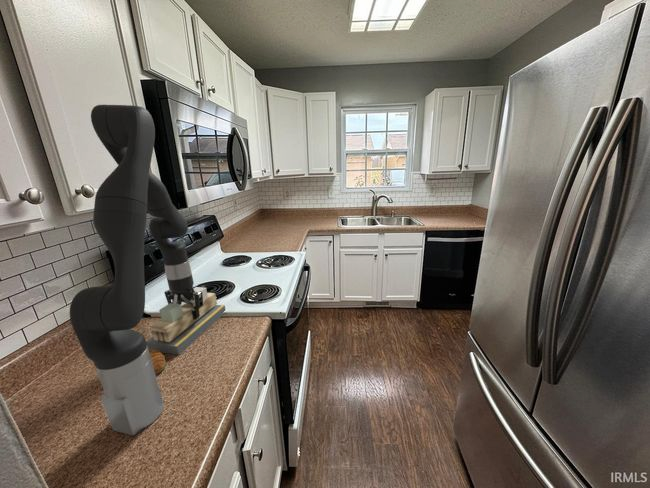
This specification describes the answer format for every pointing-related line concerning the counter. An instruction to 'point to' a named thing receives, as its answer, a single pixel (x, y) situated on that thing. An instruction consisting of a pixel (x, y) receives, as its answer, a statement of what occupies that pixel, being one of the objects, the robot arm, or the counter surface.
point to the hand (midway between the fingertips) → (188, 317)
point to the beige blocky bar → (181, 321)
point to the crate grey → (203, 290)
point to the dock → (188, 333)
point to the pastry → (157, 360)
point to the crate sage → (171, 312)
